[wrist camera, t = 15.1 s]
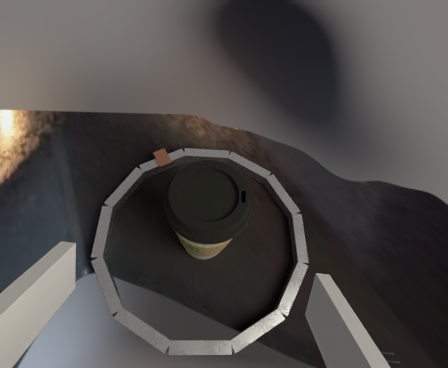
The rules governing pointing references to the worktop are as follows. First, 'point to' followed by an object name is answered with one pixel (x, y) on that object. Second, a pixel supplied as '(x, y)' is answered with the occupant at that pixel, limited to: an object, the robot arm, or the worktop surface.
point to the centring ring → (198, 346)
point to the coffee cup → (207, 206)
